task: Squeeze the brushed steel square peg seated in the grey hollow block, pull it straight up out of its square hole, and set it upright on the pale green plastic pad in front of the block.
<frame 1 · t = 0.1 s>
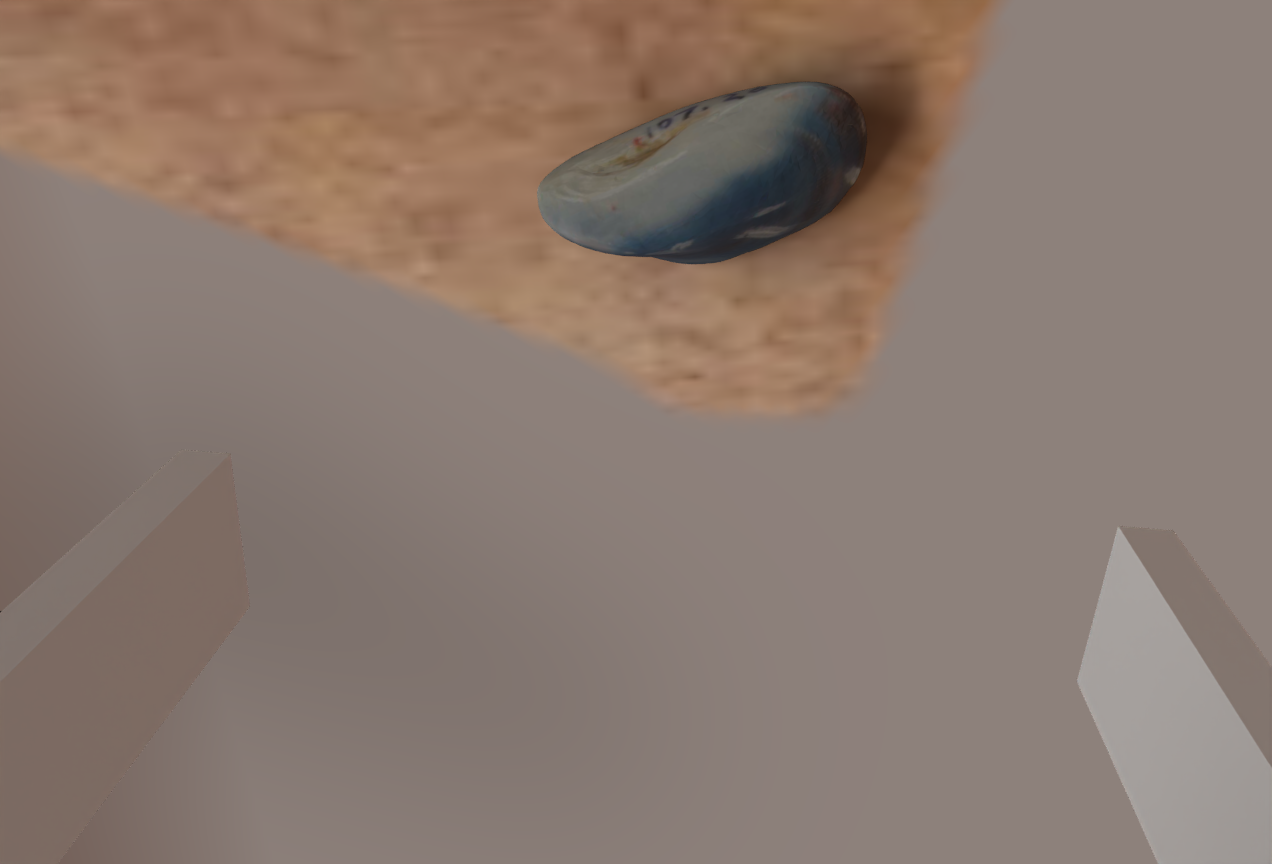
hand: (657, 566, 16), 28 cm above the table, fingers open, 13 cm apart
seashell: (713, 152, 41), on the table
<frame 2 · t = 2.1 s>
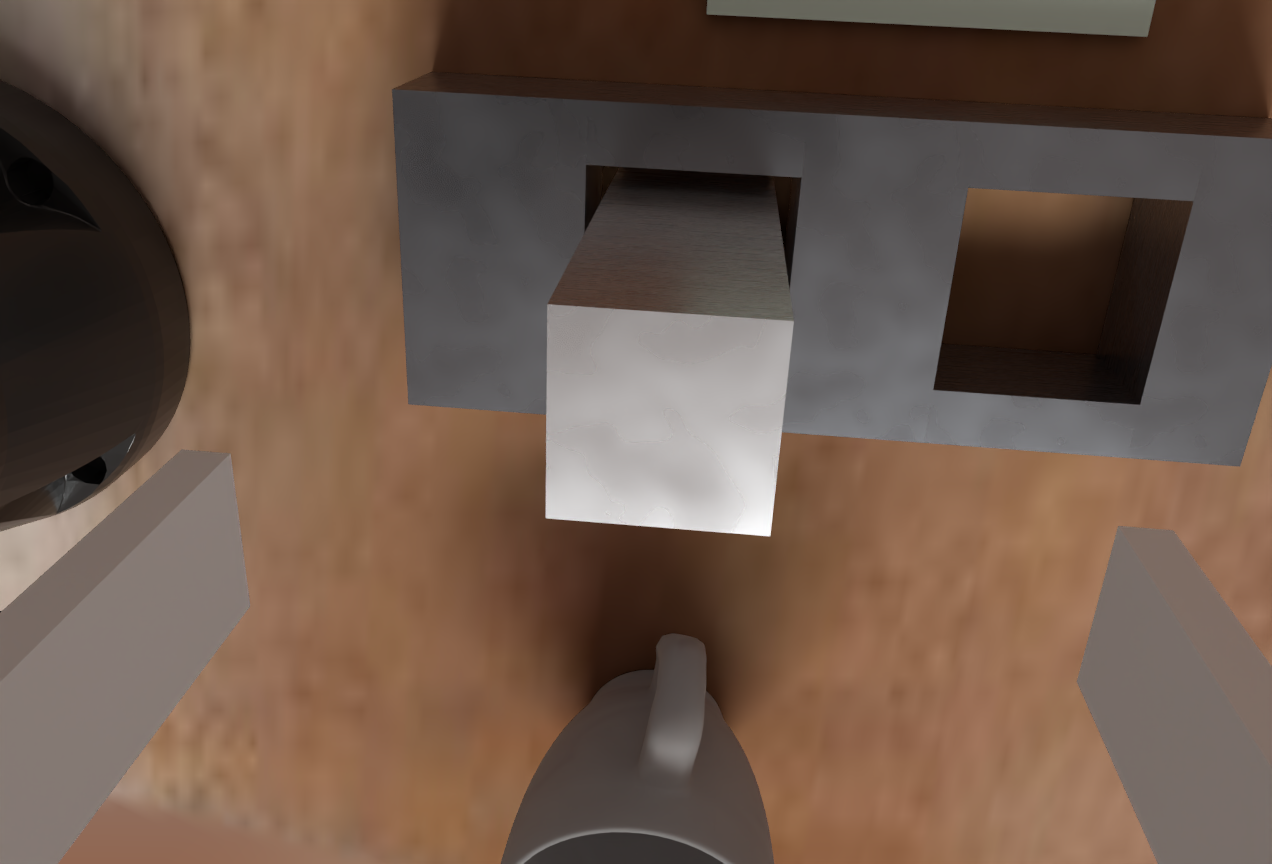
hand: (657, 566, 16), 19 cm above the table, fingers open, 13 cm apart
mug: (662, 689, 41), on the table
steel peg: (692, 238, 33), resting in grey hollow block
grey hollow block: (822, 246, 33), on the table
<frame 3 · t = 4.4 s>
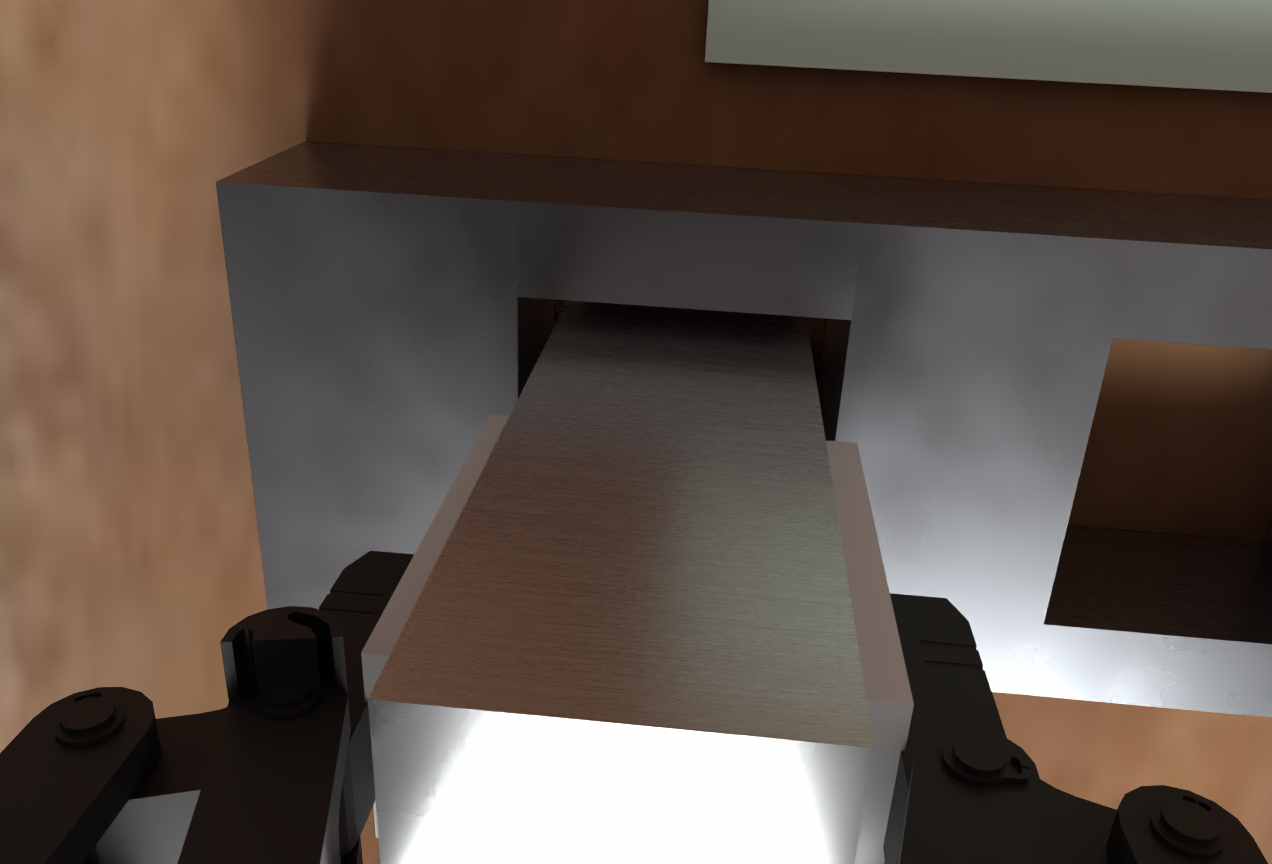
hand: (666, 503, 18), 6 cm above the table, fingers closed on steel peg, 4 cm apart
steel peg: (684, 377, 23), resting in grey hollow block, touching gripper
grey hollow block: (872, 391, 23), on the table
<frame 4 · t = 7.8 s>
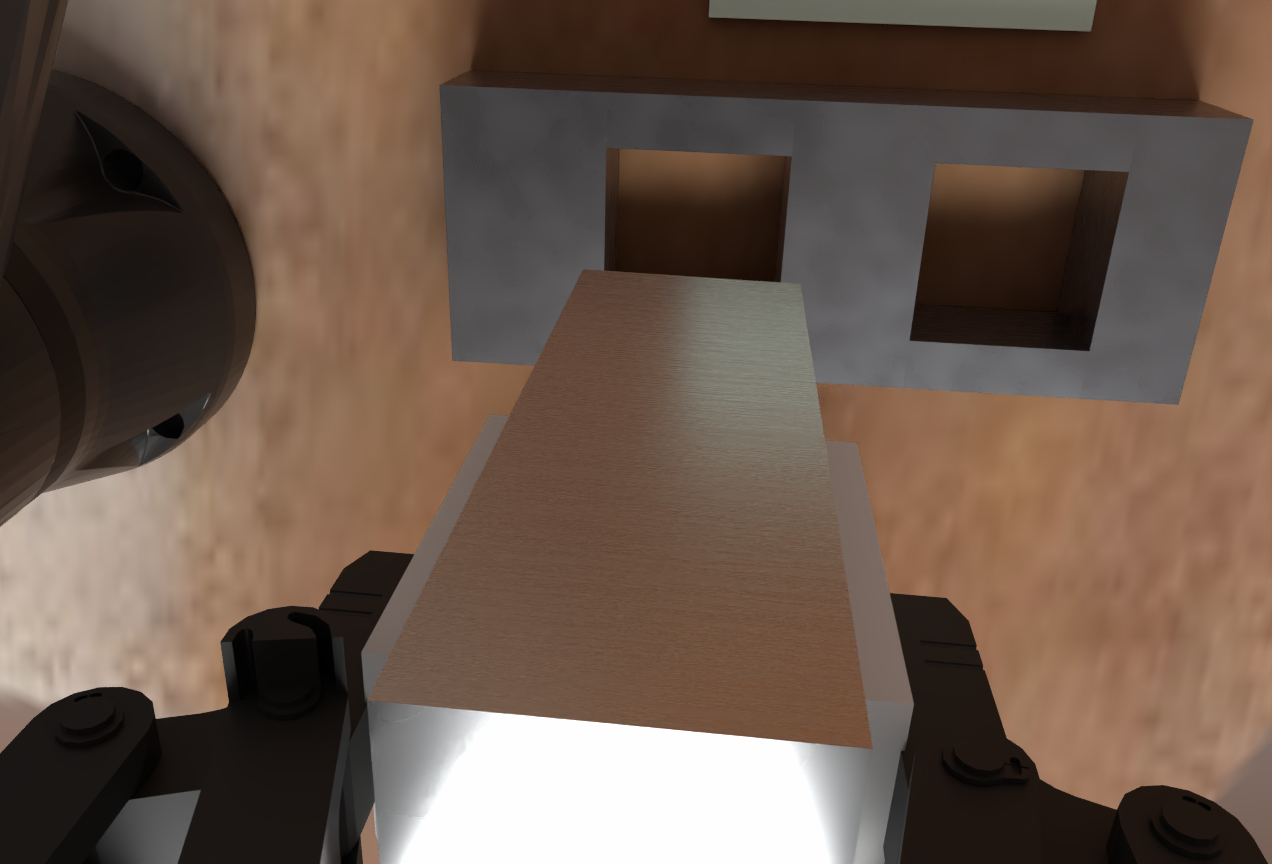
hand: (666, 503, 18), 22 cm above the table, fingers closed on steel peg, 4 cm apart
steel peg: (684, 377, 23), point 16 cm above the table, touching gripper
grey hollow block: (813, 219, 37), on the table
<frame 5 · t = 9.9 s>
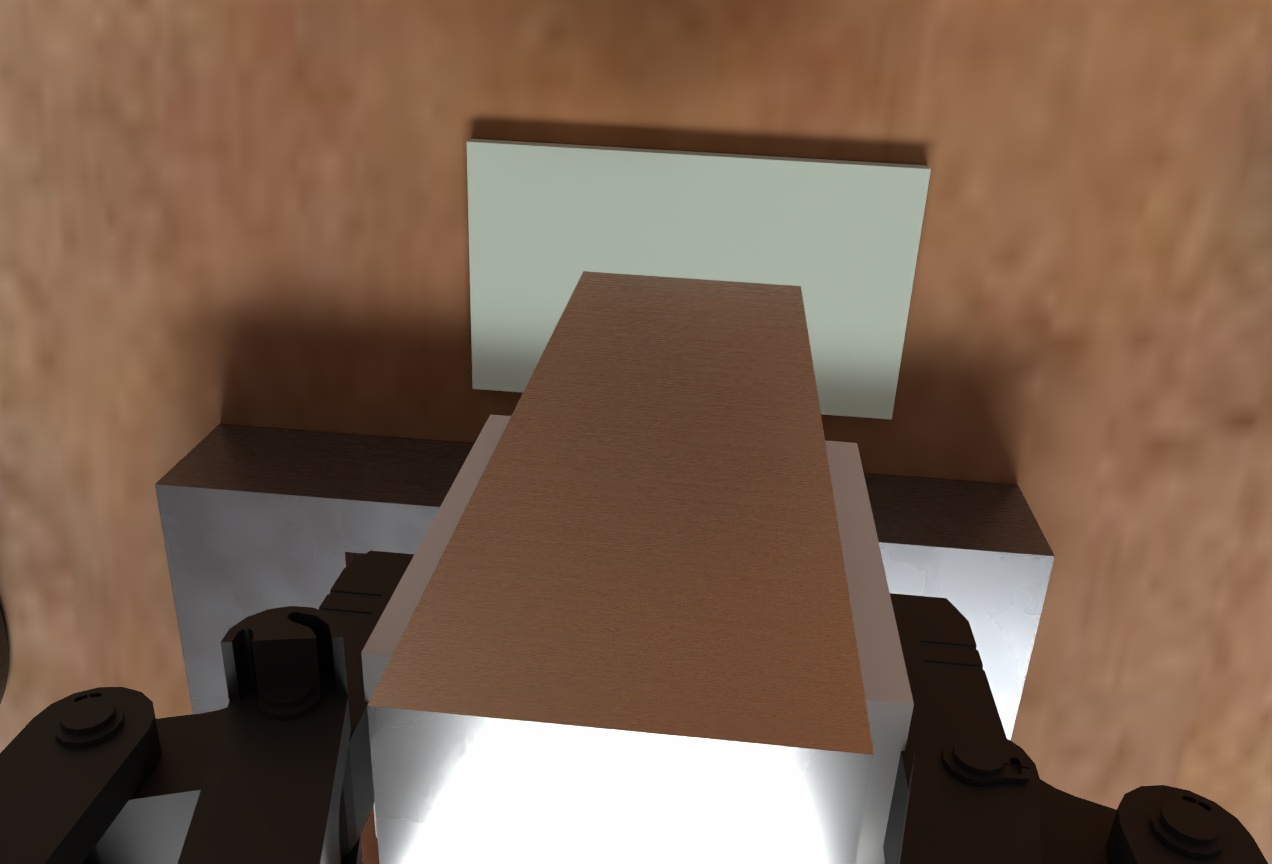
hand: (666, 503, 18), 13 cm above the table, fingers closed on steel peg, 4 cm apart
green pad: (688, 280, 30), on the table
steel peg: (684, 379, 23), point 7 cm above the table, touching gripper
grey hollow block: (605, 581, 34), on the table
when the fingers open (7 cm above the table, at t = 11.4 s): steel peg stays where it is, resting on green pad.
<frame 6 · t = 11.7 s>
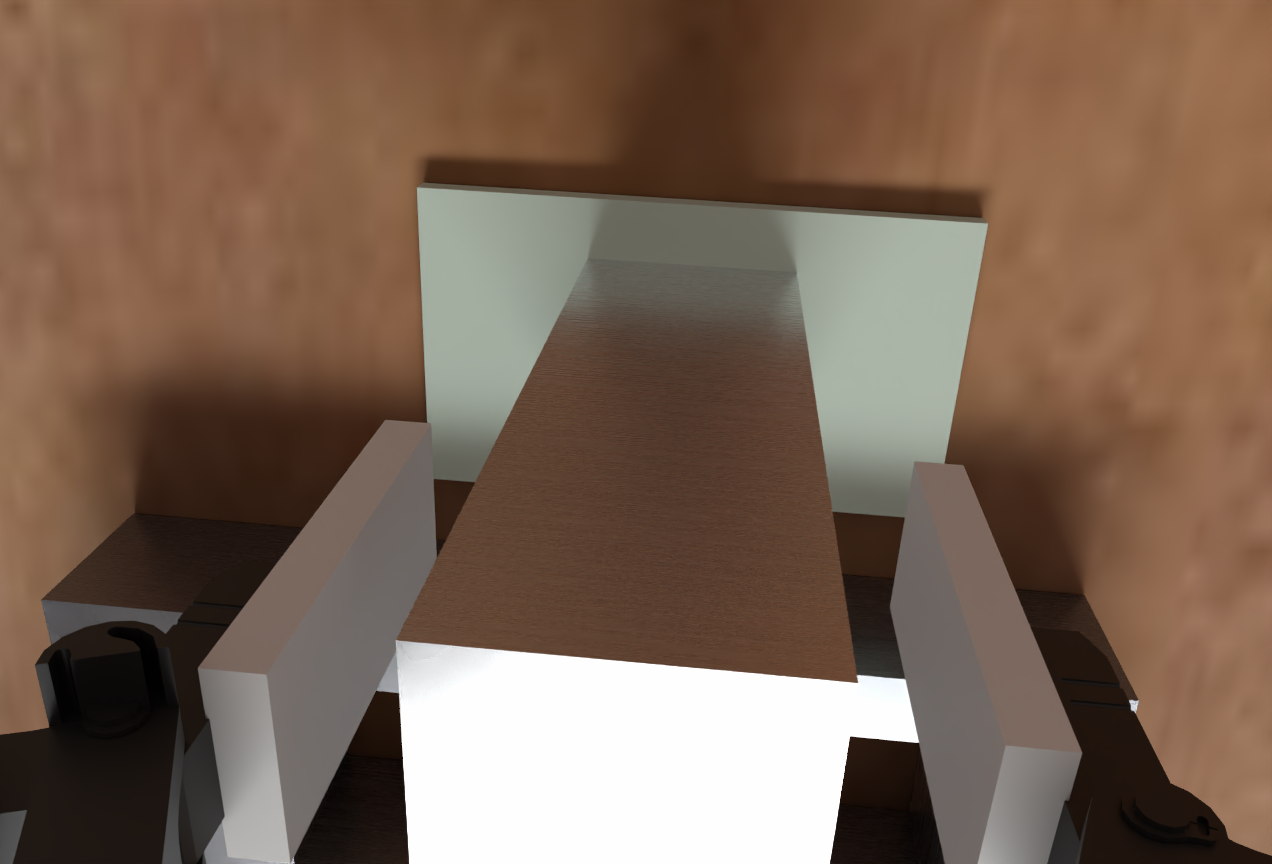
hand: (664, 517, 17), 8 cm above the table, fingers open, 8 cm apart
green pad: (688, 353, 24), on the table
steel peg: (685, 362, 24), resting on green pad
grey hollow block: (590, 697, 29), on the table
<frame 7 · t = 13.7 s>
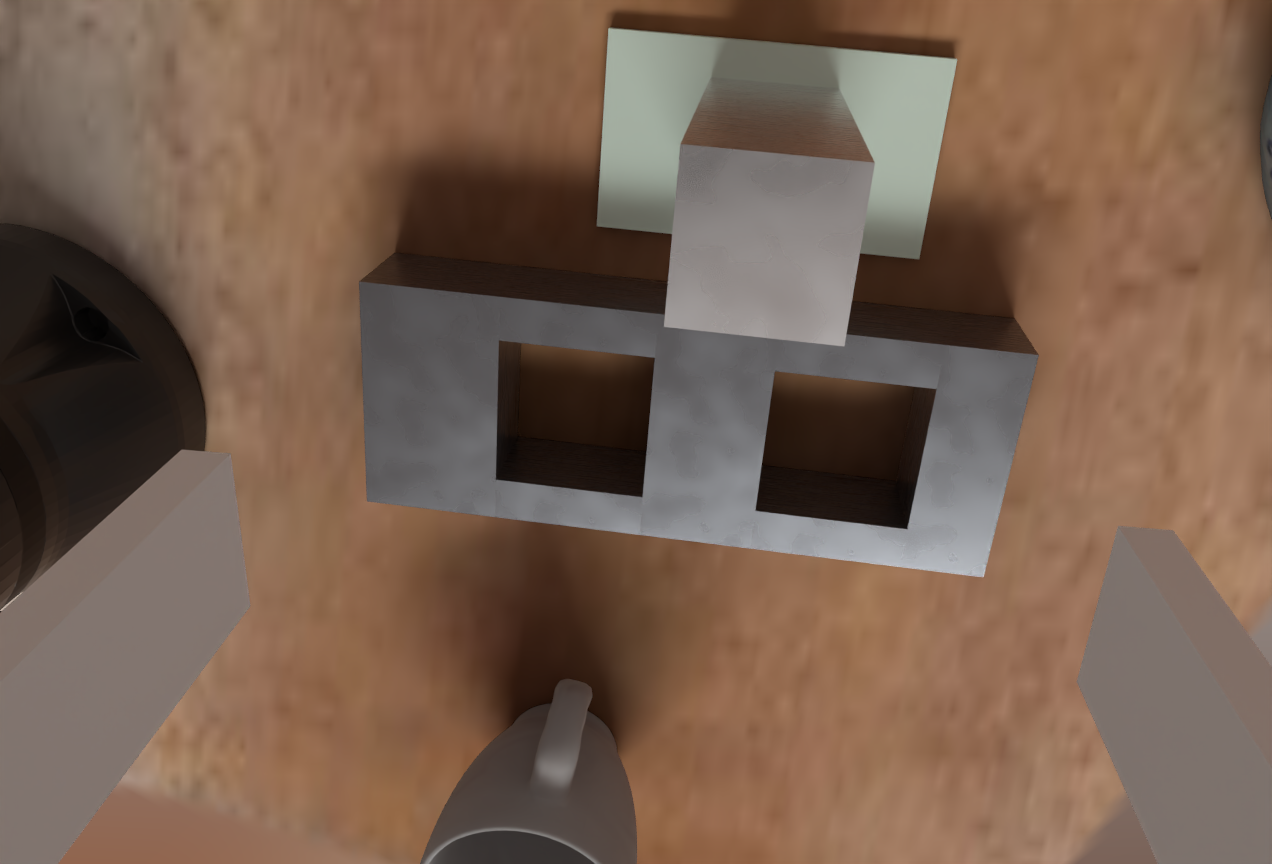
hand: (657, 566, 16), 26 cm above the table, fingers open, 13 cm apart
mug: (569, 719, 51), on the table
green pad: (768, 144, 39), on the table
steel peg: (766, 148, 38), resting on green pad
grey hollow block: (687, 392, 43), on the table
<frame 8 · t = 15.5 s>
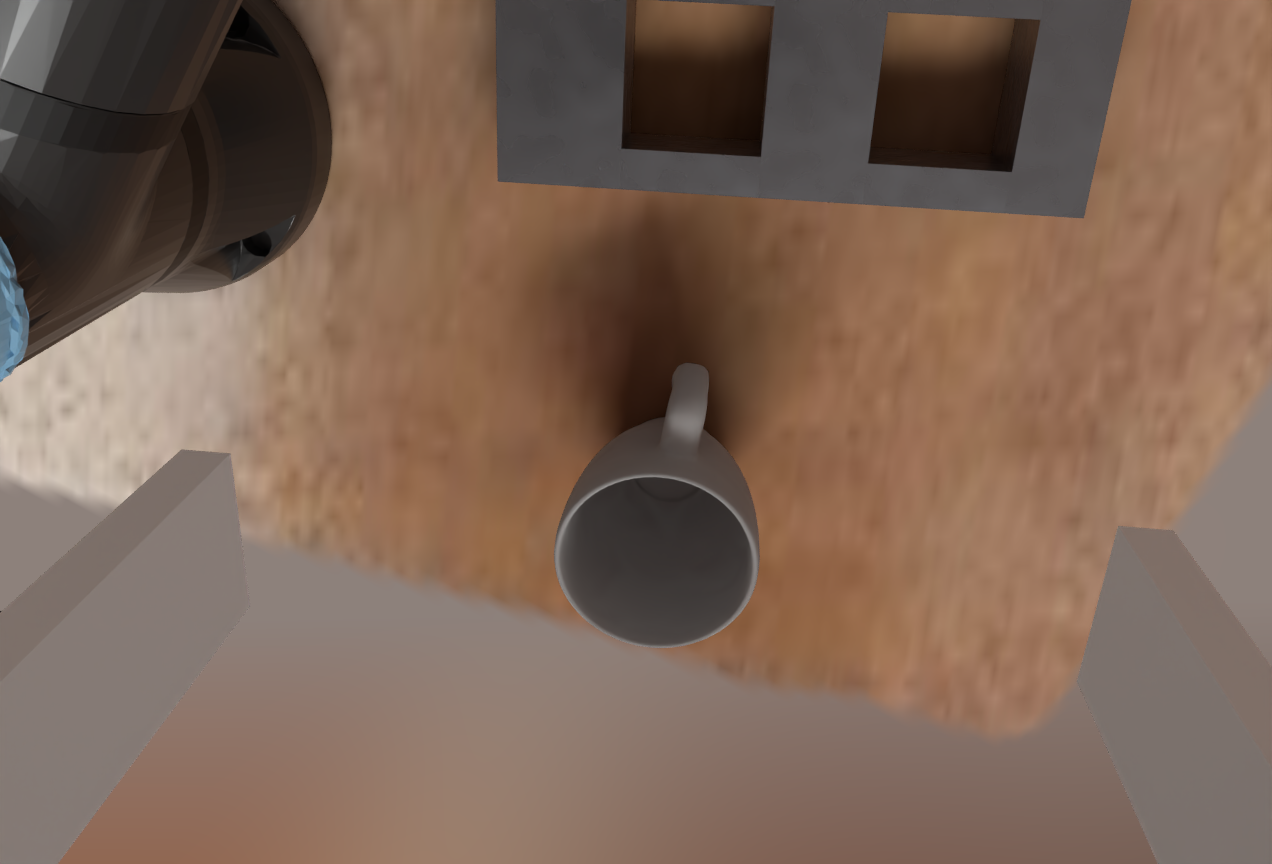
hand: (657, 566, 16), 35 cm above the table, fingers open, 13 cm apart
mug: (676, 435, 54), on the table
grey hollow block: (792, 74, 46), on the table
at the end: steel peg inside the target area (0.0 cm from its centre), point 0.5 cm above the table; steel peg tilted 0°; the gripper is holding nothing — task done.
